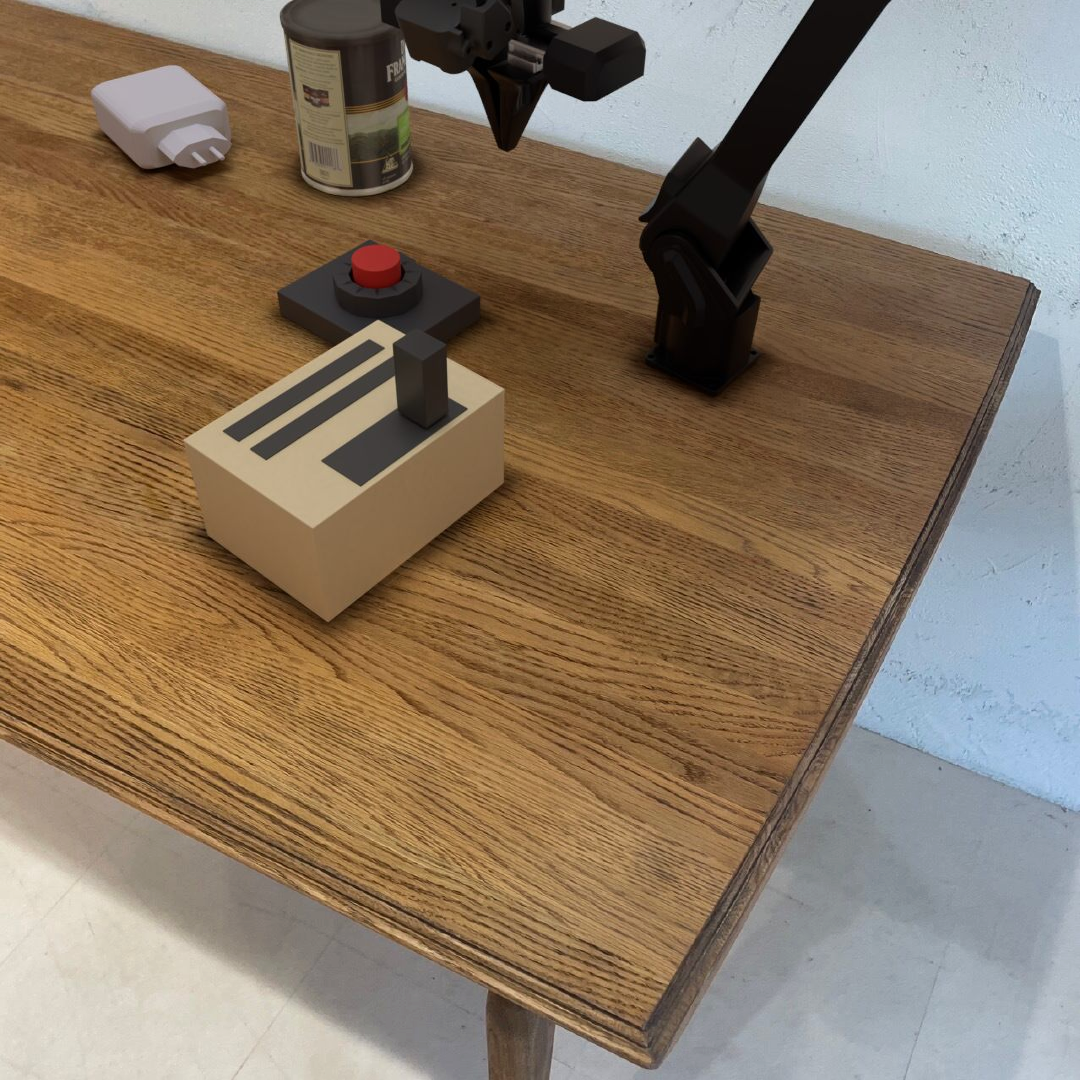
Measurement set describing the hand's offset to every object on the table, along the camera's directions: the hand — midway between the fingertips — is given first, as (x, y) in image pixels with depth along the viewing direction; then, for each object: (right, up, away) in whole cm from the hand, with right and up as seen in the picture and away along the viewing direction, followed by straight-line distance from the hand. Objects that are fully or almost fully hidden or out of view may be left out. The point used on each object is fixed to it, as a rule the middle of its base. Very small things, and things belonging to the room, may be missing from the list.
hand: (507, 148), depth 81 cm
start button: (-10, -8, +5) cm, 14 cm away
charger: (-31, +8, +25) cm, 40 cm away
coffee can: (-14, +6, +23) cm, 28 cm away
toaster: (-9, -26, -7) cm, 28 cm away
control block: (-10, -11, +8) cm, 16 cm away
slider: (-5, -20, -13) cm, 25 cm away
